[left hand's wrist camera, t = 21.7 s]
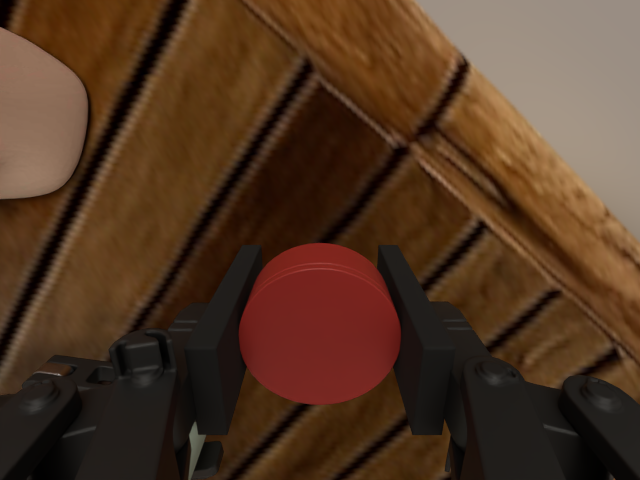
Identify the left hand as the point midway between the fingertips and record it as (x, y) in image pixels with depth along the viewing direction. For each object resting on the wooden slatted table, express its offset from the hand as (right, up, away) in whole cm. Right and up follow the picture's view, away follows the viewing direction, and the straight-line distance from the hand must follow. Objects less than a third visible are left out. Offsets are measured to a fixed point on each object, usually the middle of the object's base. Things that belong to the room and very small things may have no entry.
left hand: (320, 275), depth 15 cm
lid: (0, -1, -4) cm, 4 cm away
